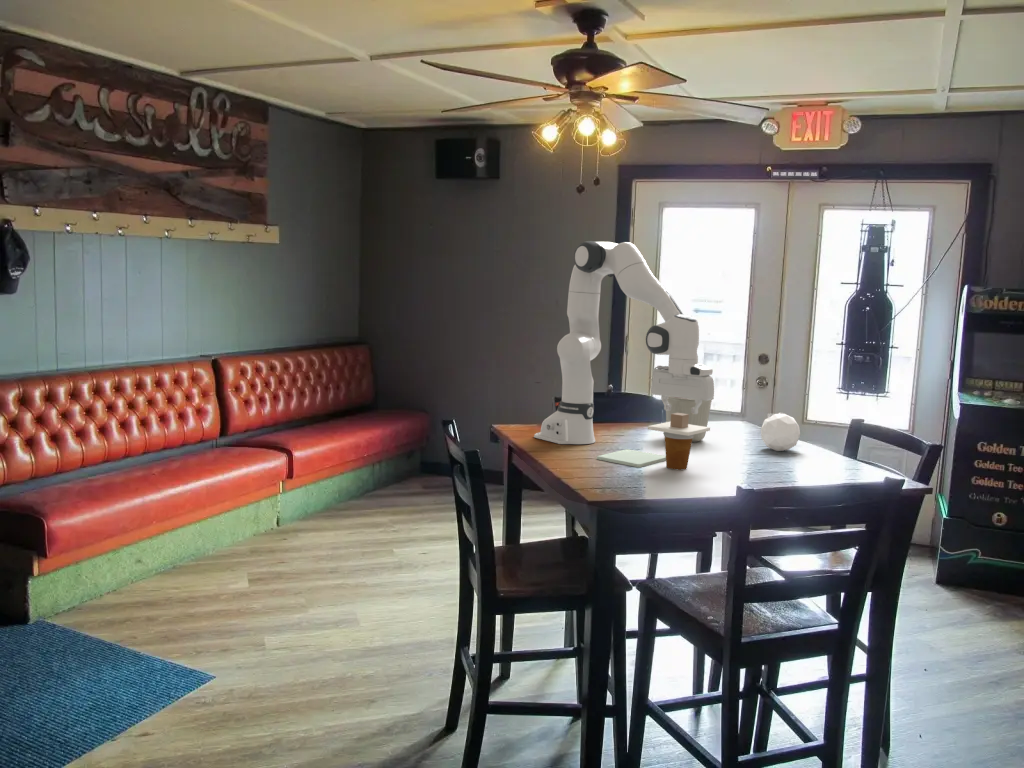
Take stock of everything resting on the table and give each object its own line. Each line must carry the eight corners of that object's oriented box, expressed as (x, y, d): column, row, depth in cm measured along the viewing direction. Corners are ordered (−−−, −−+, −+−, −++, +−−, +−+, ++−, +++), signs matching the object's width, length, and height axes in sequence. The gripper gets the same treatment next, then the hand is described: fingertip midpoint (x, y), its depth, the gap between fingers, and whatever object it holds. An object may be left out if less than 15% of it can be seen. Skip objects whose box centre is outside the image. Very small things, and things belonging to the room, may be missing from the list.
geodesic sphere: (755, 436, 299) (781, 406, 298) (745, 429, 313) (771, 400, 311) (786, 462, 300) (813, 432, 298) (775, 454, 313) (801, 425, 312)
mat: (596, 459, 279) (597, 456, 279) (627, 451, 293) (627, 449, 293) (639, 467, 269) (639, 464, 269) (668, 459, 283) (668, 456, 282)
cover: (647, 429, 268) (648, 413, 268) (670, 424, 279) (671, 409, 278) (688, 435, 259) (689, 419, 259) (709, 430, 270) (711, 414, 269)
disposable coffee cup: (667, 471, 265) (670, 432, 264) (656, 464, 274) (658, 427, 273) (697, 471, 267) (699, 432, 266) (685, 464, 276) (687, 427, 275)
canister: (720, 443, 314) (724, 386, 311) (675, 445, 308) (679, 386, 306) (695, 434, 331) (698, 380, 328) (652, 435, 326) (655, 380, 323)
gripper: (648, 365, 271) (646, 409, 273) (707, 371, 258) (705, 416, 260) (658, 364, 276) (656, 407, 277) (717, 369, 263) (715, 414, 264)
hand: (680, 412), depth 268 cm, fingers open, 8 cm apart
